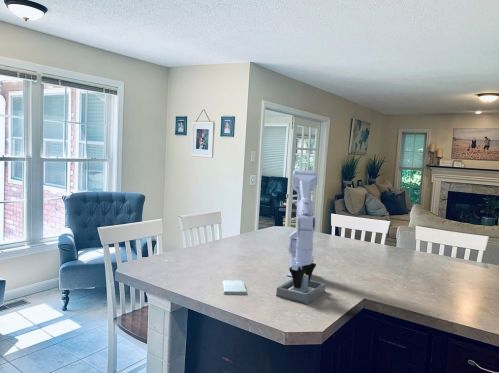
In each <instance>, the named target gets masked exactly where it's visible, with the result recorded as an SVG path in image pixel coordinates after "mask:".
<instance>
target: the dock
mask: <svg viewBox="0 0 499 373" xmlns="http://www.w3.org/2000/svg"><path fill="white" fill-rule="evenodd" d="M293 284H294V283H293V278H291V279H289V280H288V281H286V282H284V283H283V284H280V285H279V286H278V287H276V295H275V296H276V297H279V298H282V299H286V300H290V301H293V302H297V303H300V304H304V305H309V304H311V302H313V301H315V300H316V299H317V298H319V297H320V296H321V295H322V294H324V293H325V292H326V286H327V285H326V283H323V282H320V281H315V280H311V279H310V281H309V283H308V292H306V293H302V292H298V291H294V290H293Z"/></svg>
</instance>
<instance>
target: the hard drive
mask: <svg viewBox="0 0 499 373" xmlns="http://www.w3.org/2000/svg"><path fill="white" fill-rule="evenodd" d="M221 281H222V282H221V284H222V285H221V286H222V291H223V295H248V293H247V289H246V285H245V282H244V280H241V279H240V280H236V279H235V280H234V279H229V280H228V279H227V280H226V279H224V280H221Z"/></svg>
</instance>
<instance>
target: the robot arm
mask: <svg viewBox="0 0 499 373" xmlns="http://www.w3.org/2000/svg"><path fill="white" fill-rule="evenodd" d="M318 175H319V173H318V171H317V170H300V169H299V170H297V169H294V170H293V171H292V183H291V184H292V190H293V191H296V193H297V206H296V208H297V209H296V210H297V211H296V223H295V224H296V226H295V228H296V229H295V230H294V231H293V232H291V233H290V234H289V236H288V245H287V247H288V250H287V252H288V253H289V254H290V266H289V269H288V270H289V272H288V273H286V274H285V275H286V276H288V277H292V278H291V279H293V283H294V288H298V289H300V288H301V284H302V279H303V276H304V274H306V275H308V276H309V279H308V283H309V281H310V280H311V278H312V275H313V272H314V270H315V269H316V266H317V264H316V263H314V259H315V257H314V256H313V255H312V254H313V248H314V246H313V244H314V242H313V240H314V232H315V230H316V223H317V222H316V215H315V213H314V202H313V201H312V199H311V195H312V193H311V192H314V191H315V189H316V188H317V185H318V179H319V178H318V177H319V176H318Z"/></svg>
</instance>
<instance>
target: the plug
mask: <svg viewBox="0 0 499 373" xmlns="http://www.w3.org/2000/svg"><path fill="white" fill-rule="evenodd" d="M308 279H309V276H308V275H306V274H304V276H303V279H302V284H301V288H300V289H298V288H294V284H293V290H294V291H298V292H302V293H306V292H308Z"/></svg>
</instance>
